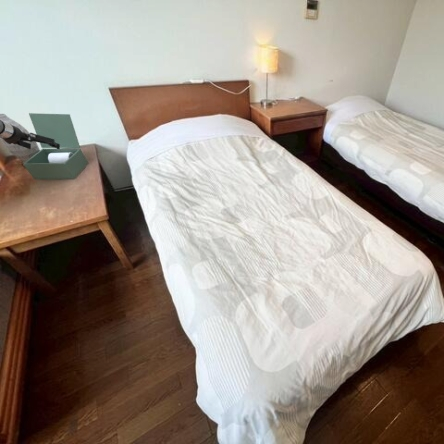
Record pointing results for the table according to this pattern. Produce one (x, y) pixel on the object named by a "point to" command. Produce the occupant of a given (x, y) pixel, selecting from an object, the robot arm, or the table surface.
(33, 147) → the vase
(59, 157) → the mug
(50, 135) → the lid
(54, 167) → the chest
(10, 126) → the robot arm
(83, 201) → the table surface
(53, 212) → the table surface
